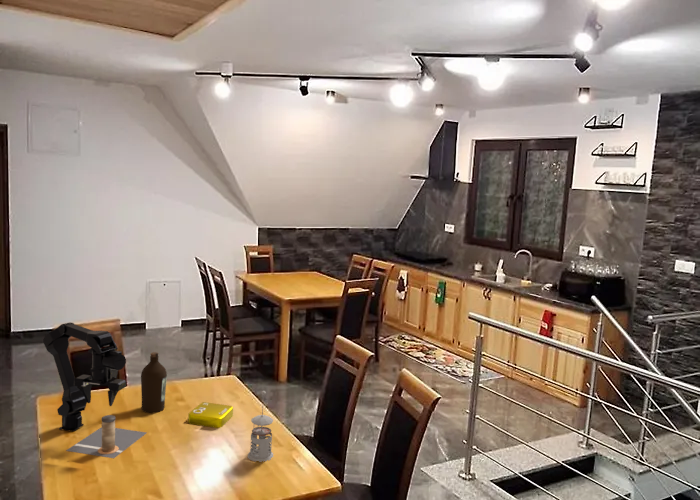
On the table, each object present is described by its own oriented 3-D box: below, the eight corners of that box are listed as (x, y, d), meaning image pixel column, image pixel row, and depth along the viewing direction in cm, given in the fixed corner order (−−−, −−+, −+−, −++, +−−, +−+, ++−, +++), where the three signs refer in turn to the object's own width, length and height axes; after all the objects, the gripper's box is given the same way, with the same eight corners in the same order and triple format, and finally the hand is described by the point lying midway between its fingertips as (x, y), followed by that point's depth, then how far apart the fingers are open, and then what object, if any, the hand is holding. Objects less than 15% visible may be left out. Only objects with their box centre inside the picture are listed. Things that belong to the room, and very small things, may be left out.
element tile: (220, 429, 234) (220, 418, 233) (186, 424, 236) (186, 413, 236) (234, 415, 248) (234, 404, 248) (202, 410, 251) (202, 400, 250)
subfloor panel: (65, 454, 204) (65, 450, 204) (103, 429, 226) (103, 425, 226) (113, 462, 201) (114, 457, 201) (147, 436, 223) (147, 432, 222)
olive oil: (138, 414, 243) (139, 357, 240) (142, 404, 253) (143, 349, 250) (164, 413, 245) (166, 356, 242) (167, 403, 255) (168, 349, 253)
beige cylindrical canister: (98, 451, 205) (98, 419, 204) (106, 445, 209) (106, 414, 208) (110, 453, 204) (110, 421, 203) (117, 447, 209) (118, 416, 207)
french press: (251, 463, 206) (254, 397, 203) (242, 449, 216) (245, 386, 214) (277, 459, 211) (280, 393, 208) (267, 445, 221) (270, 383, 218)
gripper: (134, 361, 223) (133, 400, 224) (91, 356, 226) (91, 394, 228) (118, 370, 212) (117, 410, 214) (73, 364, 215) (72, 404, 217)
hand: (100, 404), depth 218 cm, fingers open, 9 cm apart
